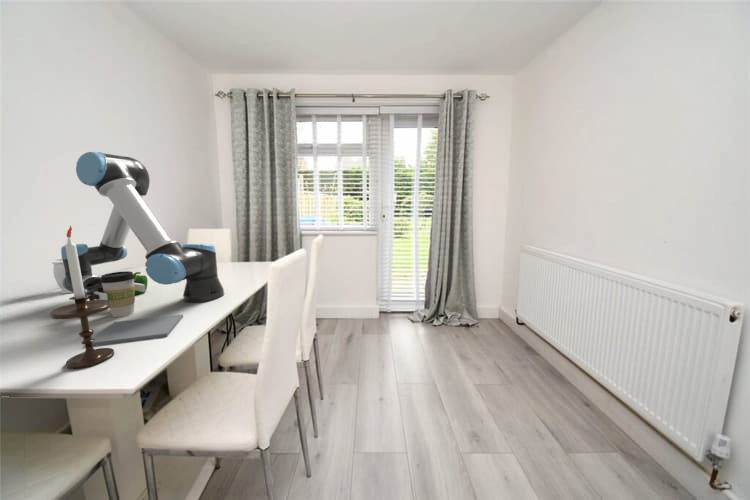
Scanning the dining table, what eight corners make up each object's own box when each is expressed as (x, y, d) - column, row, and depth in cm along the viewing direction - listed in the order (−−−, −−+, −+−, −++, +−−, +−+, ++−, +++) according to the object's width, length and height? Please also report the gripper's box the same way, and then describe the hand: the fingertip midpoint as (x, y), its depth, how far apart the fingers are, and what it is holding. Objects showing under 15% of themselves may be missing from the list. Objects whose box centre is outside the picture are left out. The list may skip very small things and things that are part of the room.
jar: (50, 294, 132) (44, 261, 130) (77, 287, 142) (71, 257, 140) (70, 295, 131) (63, 262, 128) (95, 288, 141) (90, 257, 138)
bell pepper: (119, 296, 129) (116, 273, 127) (138, 290, 137) (135, 269, 135) (134, 297, 127) (131, 274, 125) (153, 291, 135) (150, 270, 133)
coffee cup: (120, 320, 102) (113, 278, 100) (98, 317, 104) (90, 277, 102) (147, 309, 112) (141, 271, 109) (126, 308, 114) (120, 270, 111)
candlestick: (128, 347, 83) (108, 223, 77) (97, 369, 72) (71, 227, 66) (85, 350, 81) (62, 224, 76) (47, 373, 71) (17, 228, 65)
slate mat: (183, 317, 105) (182, 314, 104) (167, 336, 90) (166, 333, 89) (114, 324, 98) (114, 321, 98) (85, 346, 83) (84, 343, 83)
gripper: (130, 287, 125) (162, 293, 116) (53, 305, 104) (85, 314, 95) (127, 270, 124) (159, 274, 115) (49, 284, 103) (81, 292, 94)
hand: (126, 292), depth 105 cm, fingers open, 11 cm apart
